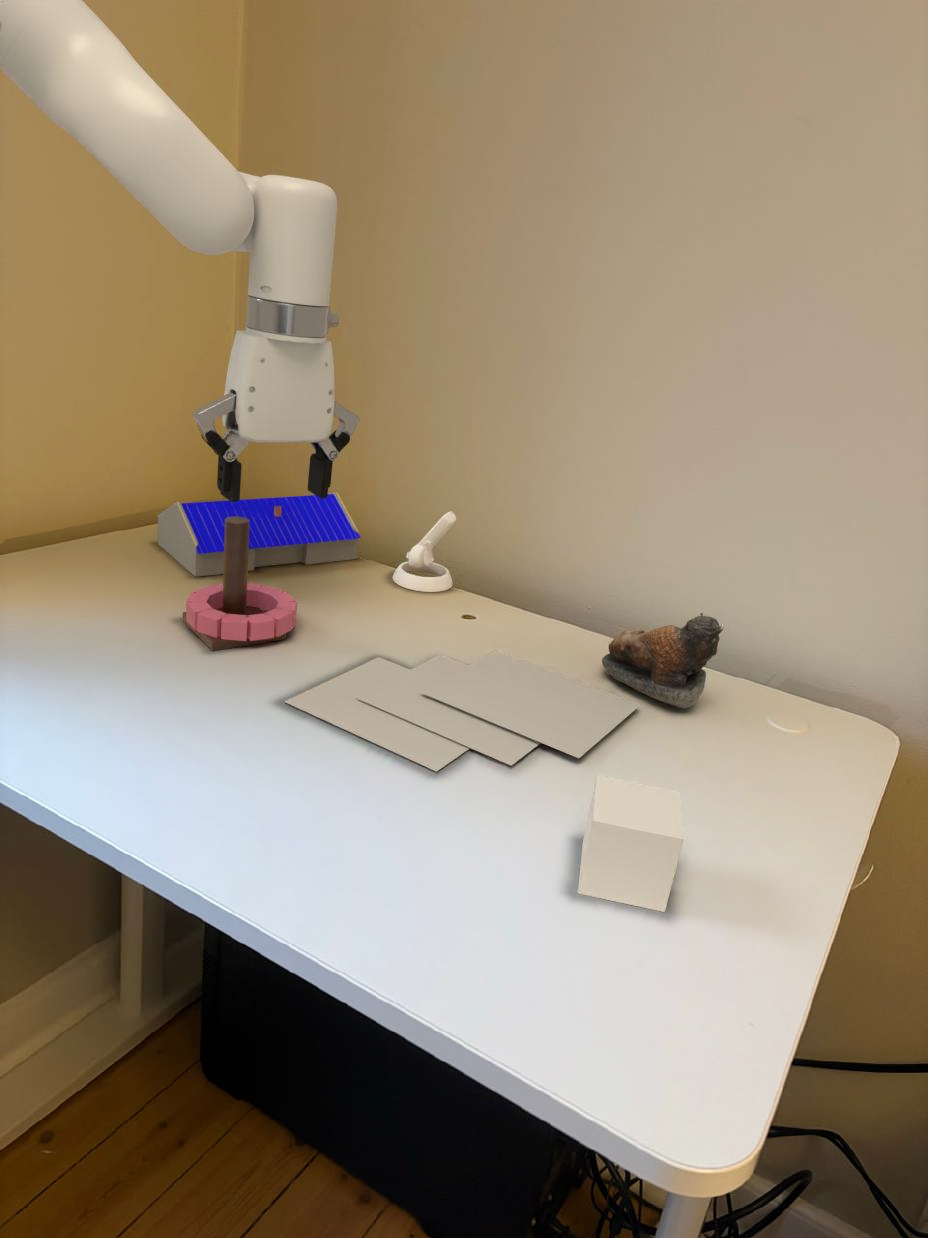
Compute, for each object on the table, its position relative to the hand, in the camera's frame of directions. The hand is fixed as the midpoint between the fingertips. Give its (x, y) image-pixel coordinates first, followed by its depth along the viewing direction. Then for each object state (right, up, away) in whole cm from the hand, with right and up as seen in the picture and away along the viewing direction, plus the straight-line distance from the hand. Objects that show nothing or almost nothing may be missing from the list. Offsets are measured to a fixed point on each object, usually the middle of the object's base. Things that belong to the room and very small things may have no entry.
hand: (274, 496), depth 93 cm
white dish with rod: (+14, -8, +24) cm, 29 cm away
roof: (-7, -4, +26) cm, 28 cm away
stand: (-5, -14, +3) cm, 15 cm away
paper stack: (+20, -21, -7) cm, 29 cm away
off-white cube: (+30, -31, -28) cm, 51 cm away
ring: (-4, -12, +3) cm, 13 cm away
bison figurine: (+39, -20, +1) cm, 44 cm away
